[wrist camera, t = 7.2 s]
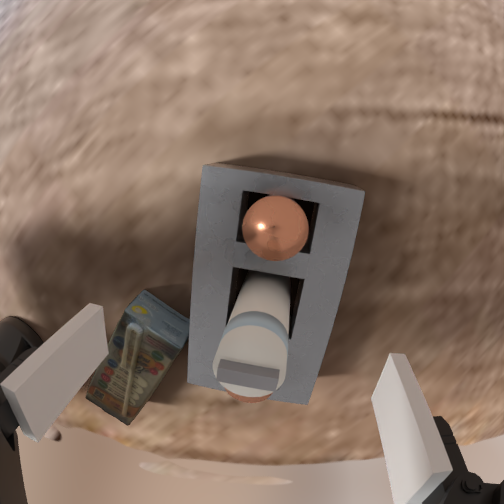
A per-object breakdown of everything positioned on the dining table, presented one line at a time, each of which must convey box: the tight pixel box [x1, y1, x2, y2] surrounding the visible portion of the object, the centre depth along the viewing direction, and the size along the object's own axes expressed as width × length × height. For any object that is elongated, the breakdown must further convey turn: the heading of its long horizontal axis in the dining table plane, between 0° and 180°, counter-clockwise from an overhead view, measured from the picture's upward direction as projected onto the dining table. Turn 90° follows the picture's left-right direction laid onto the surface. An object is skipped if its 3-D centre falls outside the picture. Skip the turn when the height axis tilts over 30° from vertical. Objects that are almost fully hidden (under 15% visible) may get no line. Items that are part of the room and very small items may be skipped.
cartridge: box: [213, 270, 291, 397], centre depth 27 cm, size 5×5×16 cm
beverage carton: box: [86, 290, 190, 425], centre depth 38 cm, size 8×19×7 cm, turn 147°
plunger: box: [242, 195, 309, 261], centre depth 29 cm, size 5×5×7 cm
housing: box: [187, 163, 365, 405], centre depth 33 cm, size 14×24×5 cm, turn 172°
